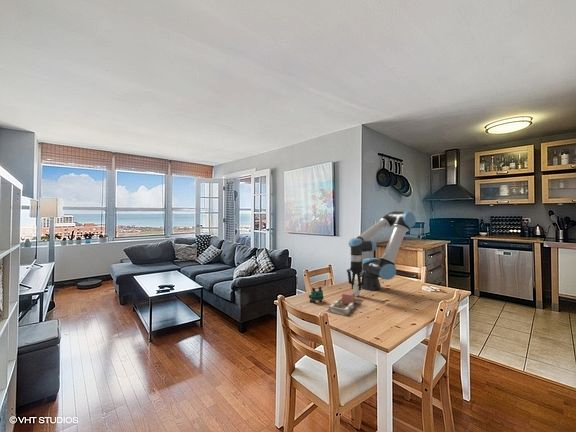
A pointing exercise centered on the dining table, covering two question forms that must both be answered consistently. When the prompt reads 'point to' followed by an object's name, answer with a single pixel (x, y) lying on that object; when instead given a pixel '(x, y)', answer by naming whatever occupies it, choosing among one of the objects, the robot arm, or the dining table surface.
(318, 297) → the green toy creature
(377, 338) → the dining table surface
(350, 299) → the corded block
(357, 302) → the lane shelf
